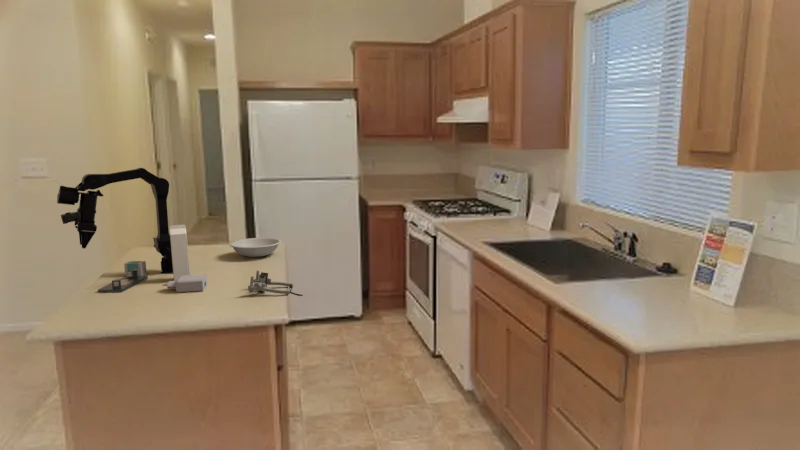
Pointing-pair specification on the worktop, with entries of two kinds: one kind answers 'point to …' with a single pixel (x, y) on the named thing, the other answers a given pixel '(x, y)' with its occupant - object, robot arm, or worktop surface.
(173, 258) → the milk
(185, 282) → the charger
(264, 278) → the bike brake
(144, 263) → the block
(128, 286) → the shaft stand
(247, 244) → the soup bowl
